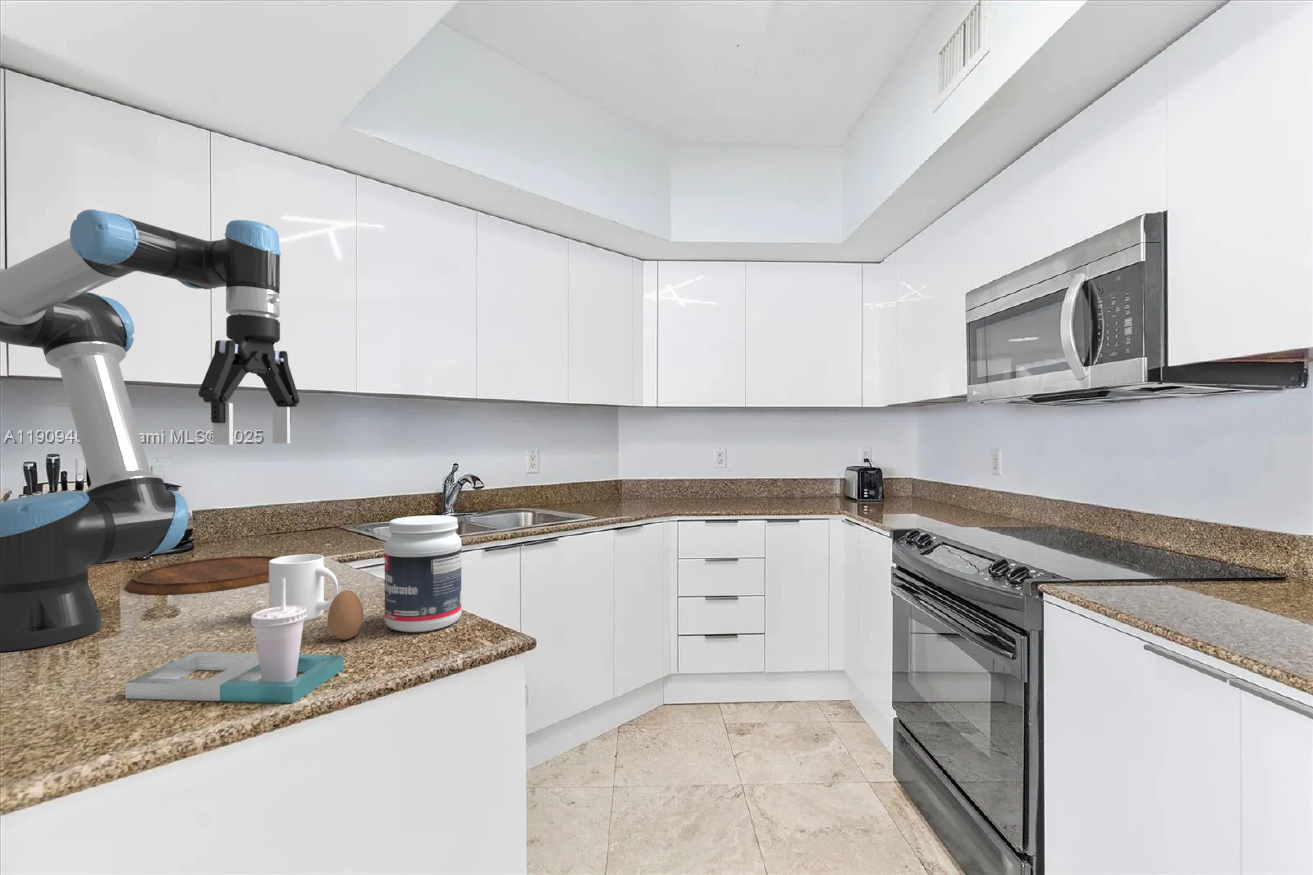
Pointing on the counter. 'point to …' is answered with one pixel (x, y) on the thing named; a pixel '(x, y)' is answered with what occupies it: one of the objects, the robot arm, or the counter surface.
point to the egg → (345, 615)
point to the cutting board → (202, 576)
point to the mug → (300, 583)
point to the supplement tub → (422, 573)
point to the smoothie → (279, 639)
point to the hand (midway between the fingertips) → (254, 444)
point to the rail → (231, 679)
